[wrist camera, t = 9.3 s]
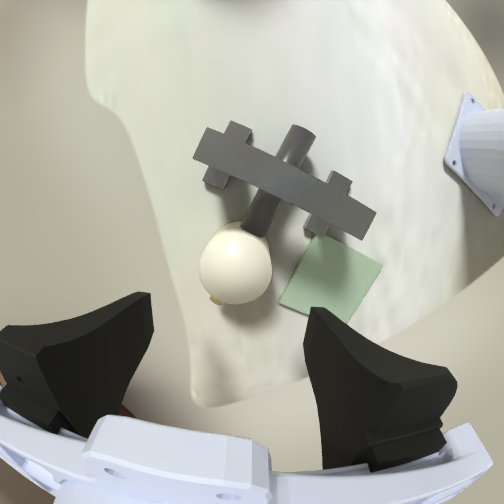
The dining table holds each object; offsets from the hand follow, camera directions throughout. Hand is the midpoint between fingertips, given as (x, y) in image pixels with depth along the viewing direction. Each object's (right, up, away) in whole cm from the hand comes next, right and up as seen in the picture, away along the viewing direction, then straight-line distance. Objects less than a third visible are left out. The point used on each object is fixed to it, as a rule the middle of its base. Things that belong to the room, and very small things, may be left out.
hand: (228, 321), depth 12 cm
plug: (+1, +6, +7) cm, 9 cm away
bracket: (+3, +8, +6) cm, 10 cm away
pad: (+7, +1, +8) cm, 11 cm away
